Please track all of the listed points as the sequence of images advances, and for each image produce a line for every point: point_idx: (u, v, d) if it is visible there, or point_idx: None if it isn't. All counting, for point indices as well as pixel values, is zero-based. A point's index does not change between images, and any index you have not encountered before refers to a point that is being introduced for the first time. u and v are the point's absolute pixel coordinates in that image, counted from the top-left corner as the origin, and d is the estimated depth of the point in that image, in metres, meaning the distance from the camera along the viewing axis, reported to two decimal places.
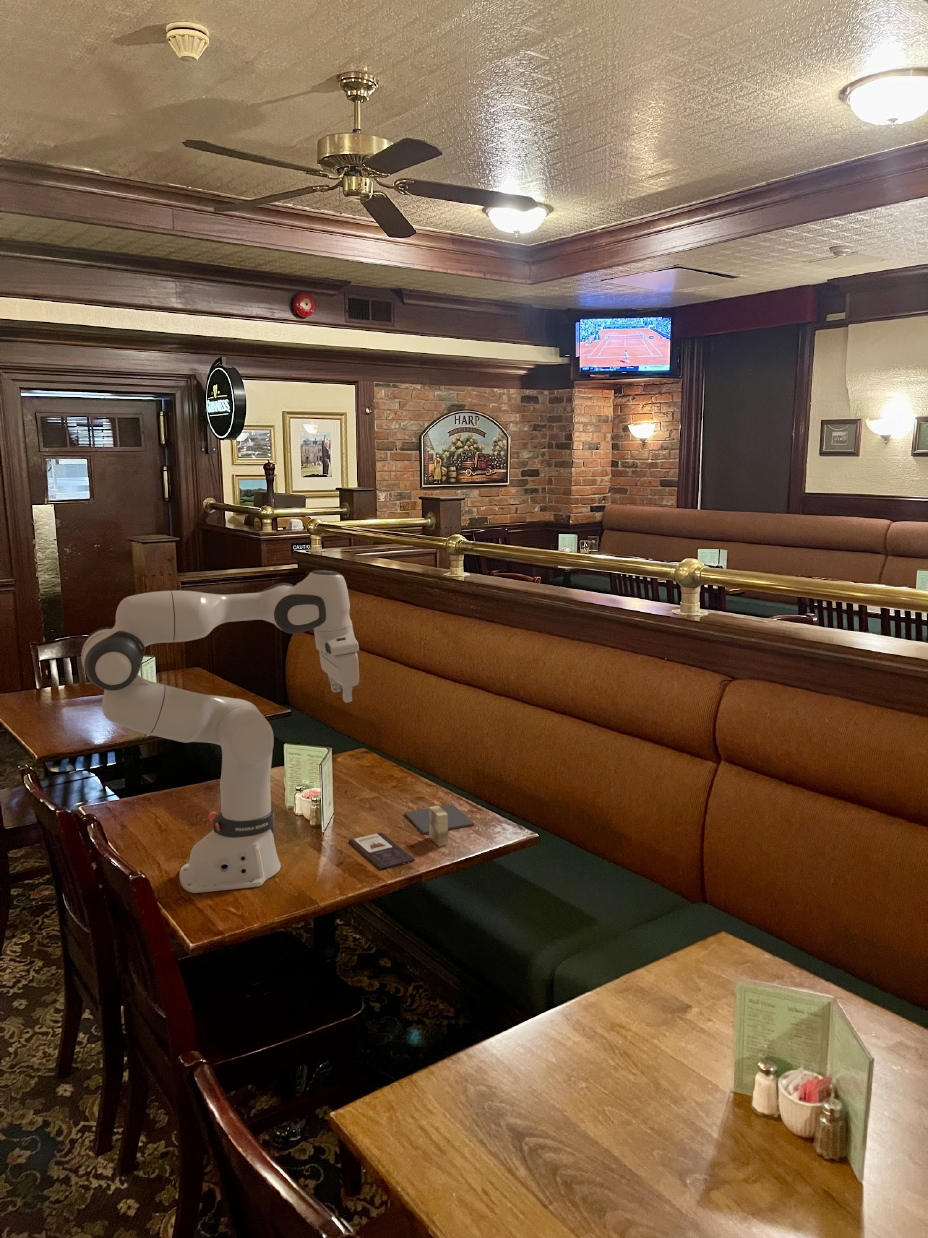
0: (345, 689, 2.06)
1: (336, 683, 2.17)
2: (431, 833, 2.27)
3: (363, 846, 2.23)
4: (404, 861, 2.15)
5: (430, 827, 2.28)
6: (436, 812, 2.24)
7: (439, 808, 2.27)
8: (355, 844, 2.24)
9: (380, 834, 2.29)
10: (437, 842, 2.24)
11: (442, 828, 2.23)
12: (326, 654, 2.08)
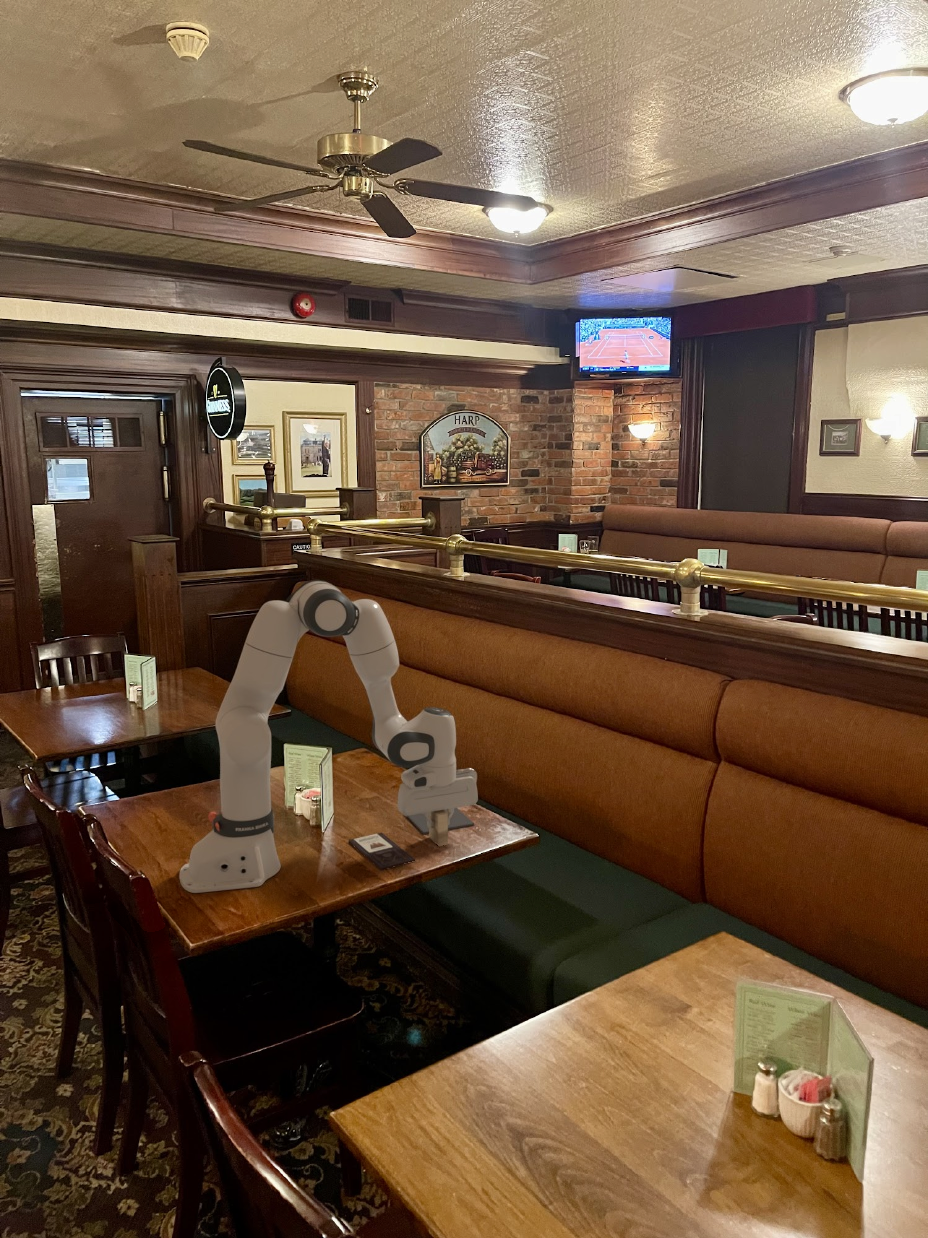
0: (423, 814, 2.25)
1: None
2: (431, 833, 2.27)
3: (363, 846, 2.22)
4: (404, 861, 2.15)
5: None
6: (436, 812, 2.24)
7: None
8: (355, 844, 2.24)
9: (380, 834, 2.29)
10: (437, 842, 2.24)
11: (442, 827, 2.23)
12: None
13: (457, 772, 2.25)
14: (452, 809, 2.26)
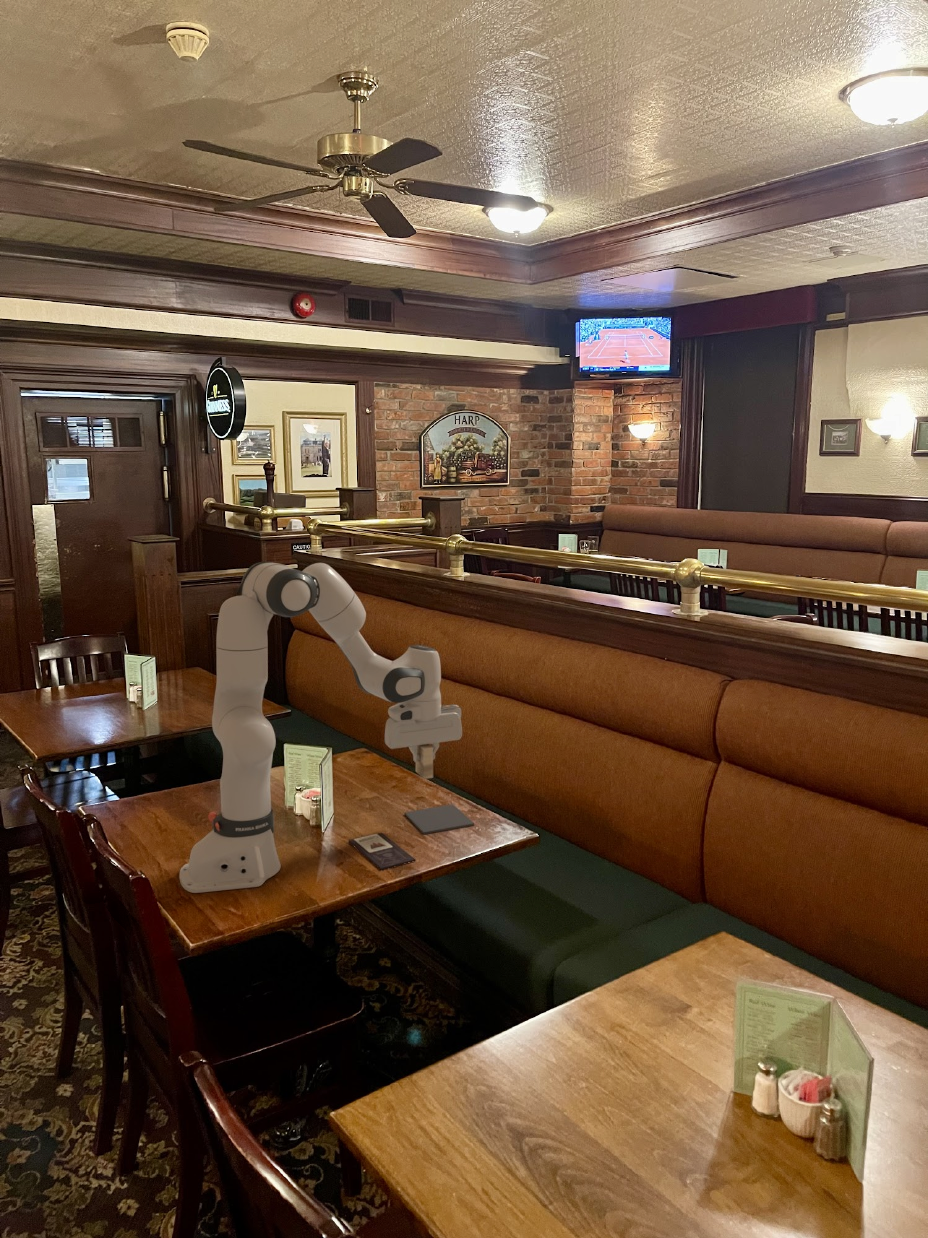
0: (409, 748, 2.33)
1: None
2: (417, 767, 2.36)
3: (363, 846, 2.22)
4: (405, 861, 2.15)
5: None
6: (422, 746, 2.33)
7: None
8: (355, 844, 2.23)
9: (380, 834, 2.29)
10: (423, 775, 2.33)
11: (427, 760, 2.32)
12: None
13: (442, 708, 2.34)
14: (437, 743, 2.34)
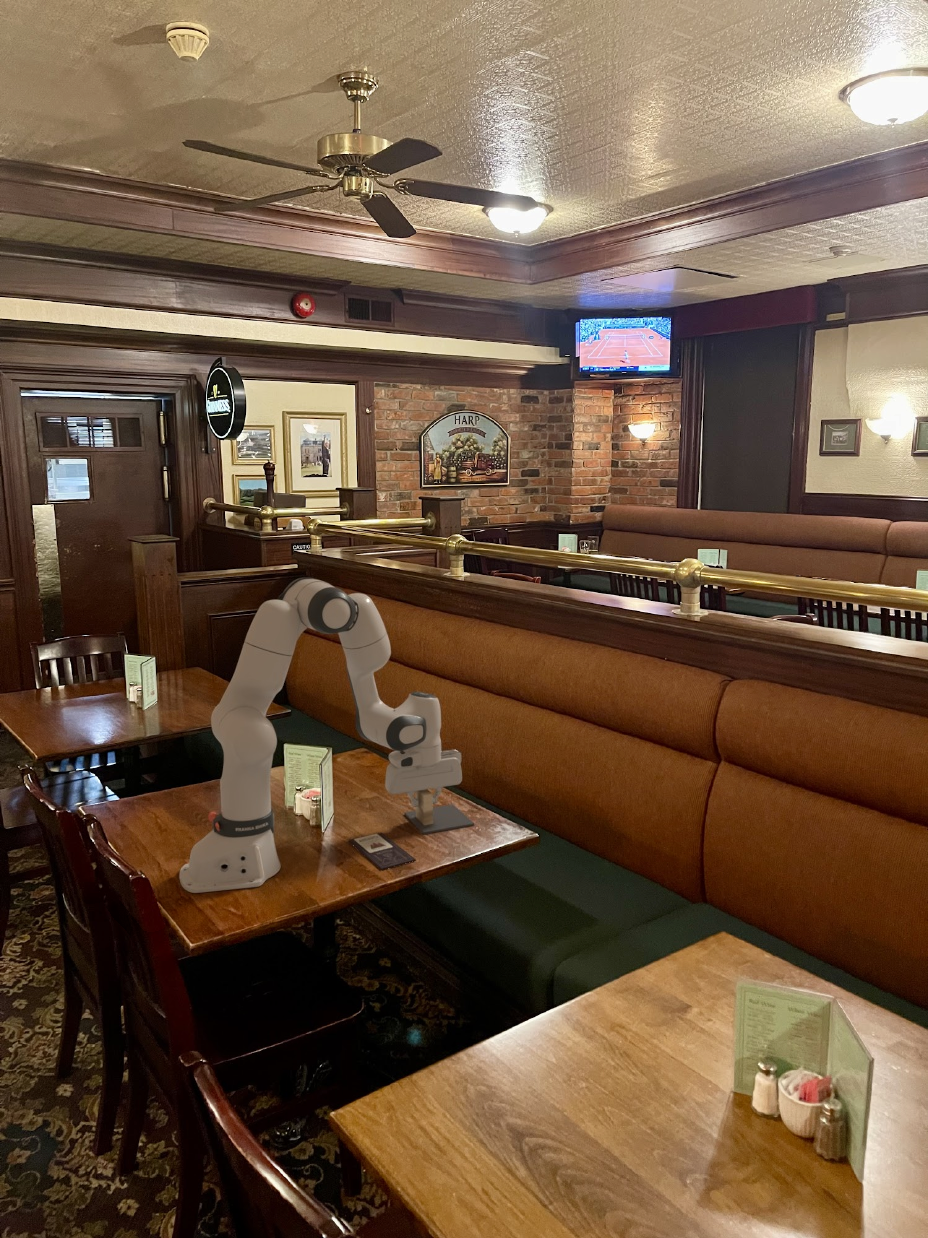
0: (407, 793, 2.35)
1: (434, 796, 2.38)
2: (417, 812, 2.38)
3: (363, 846, 2.22)
4: (405, 861, 2.15)
5: (416, 807, 2.39)
6: (422, 792, 2.35)
7: None
8: (355, 844, 2.23)
9: (380, 834, 2.29)
10: (423, 821, 2.35)
11: (427, 807, 2.34)
12: None
13: (442, 753, 2.36)
14: (440, 788, 2.37)
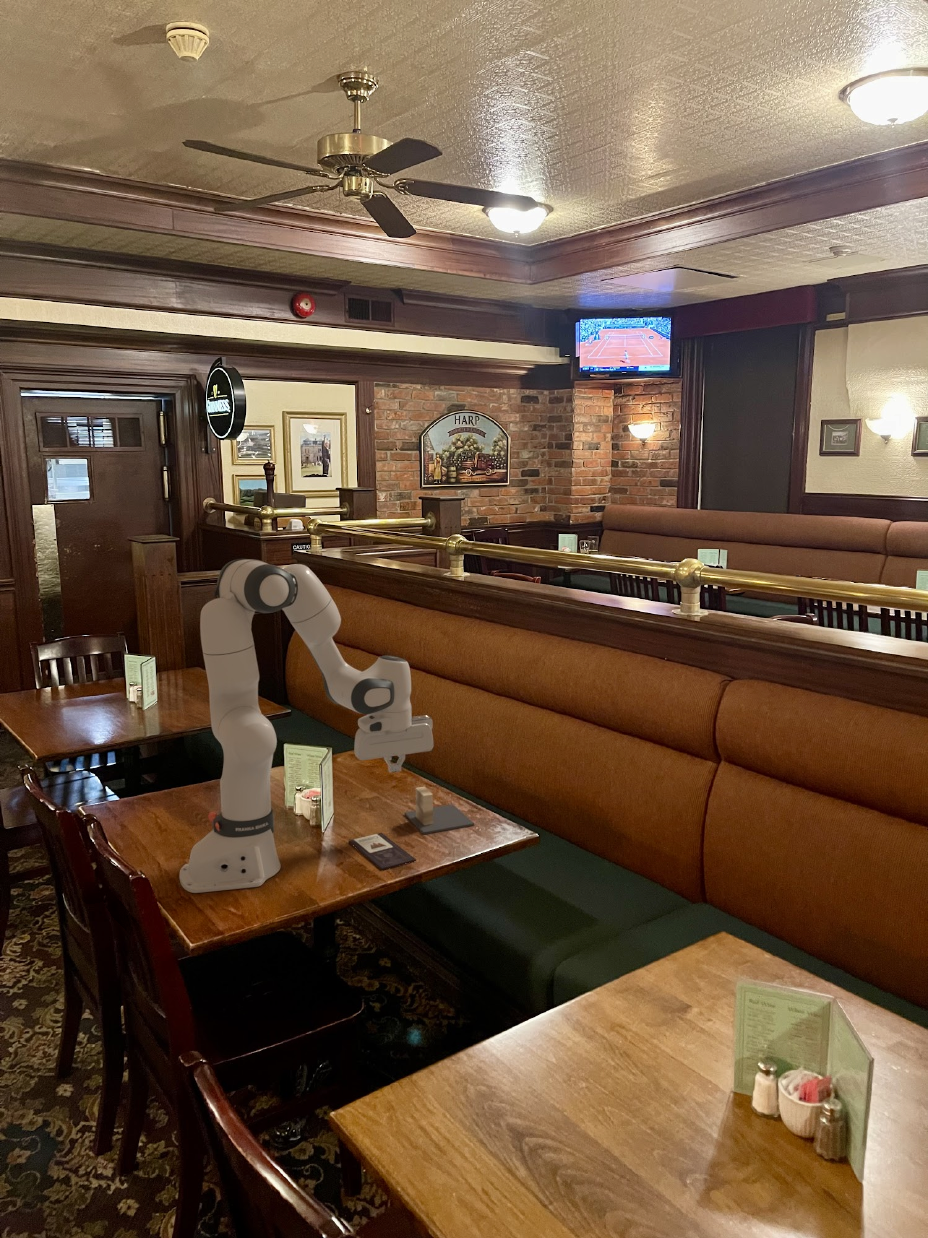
0: (384, 759, 2.31)
1: (397, 764, 2.32)
2: (417, 812, 2.38)
3: (364, 846, 2.22)
4: (405, 861, 2.15)
5: (416, 807, 2.39)
6: (422, 792, 2.35)
7: (425, 789, 2.38)
8: (355, 844, 2.23)
9: (380, 835, 2.29)
10: (423, 821, 2.35)
11: (427, 807, 2.34)
12: None
13: (413, 719, 2.31)
14: (403, 755, 2.31)
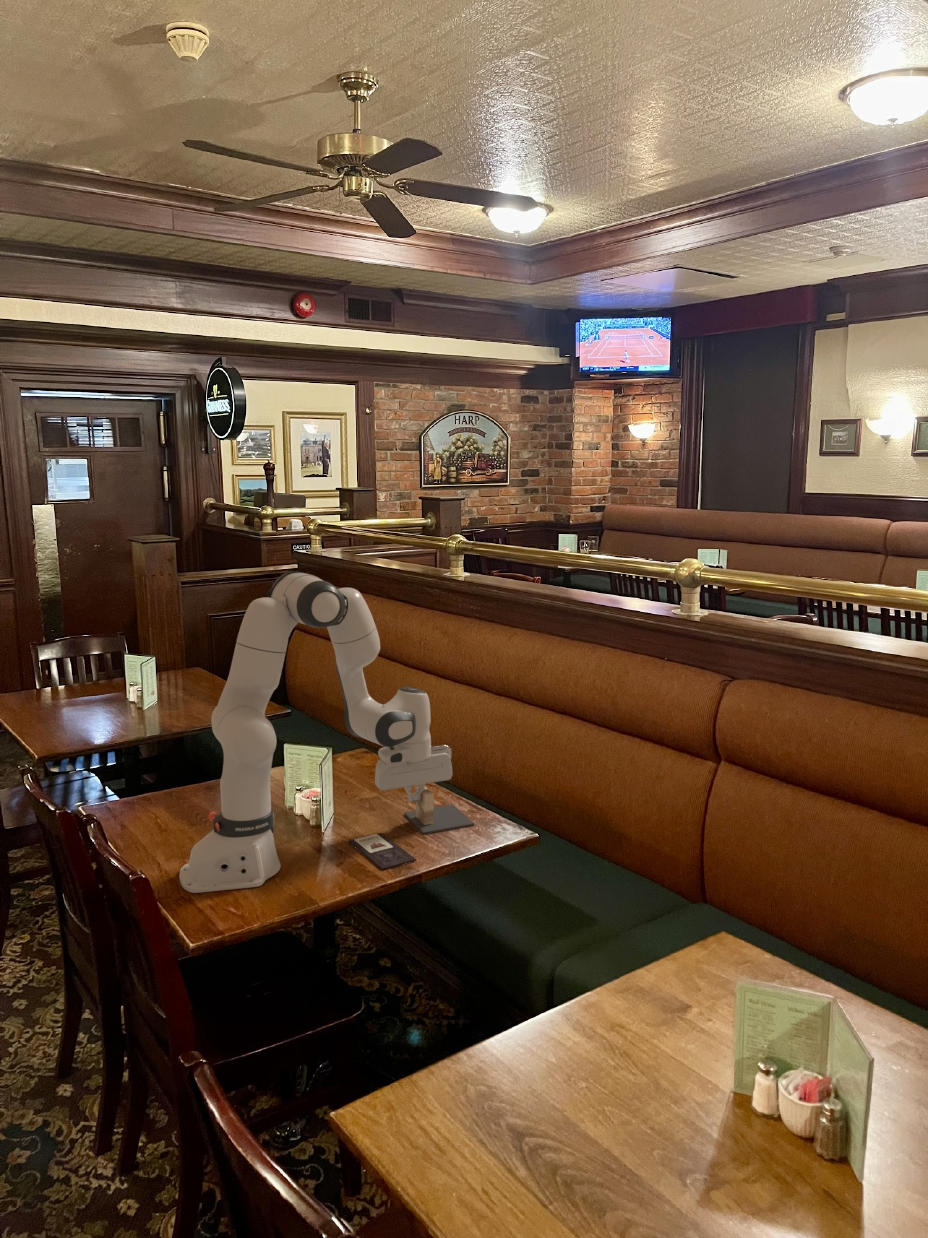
0: None
1: (417, 793, 2.35)
2: (417, 812, 2.38)
3: (364, 846, 2.22)
4: (406, 861, 2.15)
5: (416, 806, 2.39)
6: (423, 792, 2.35)
7: (426, 789, 2.38)
8: (355, 844, 2.23)
9: (380, 835, 2.29)
10: (423, 821, 2.35)
11: (428, 807, 2.34)
12: None
13: (432, 749, 2.35)
14: (423, 785, 2.35)
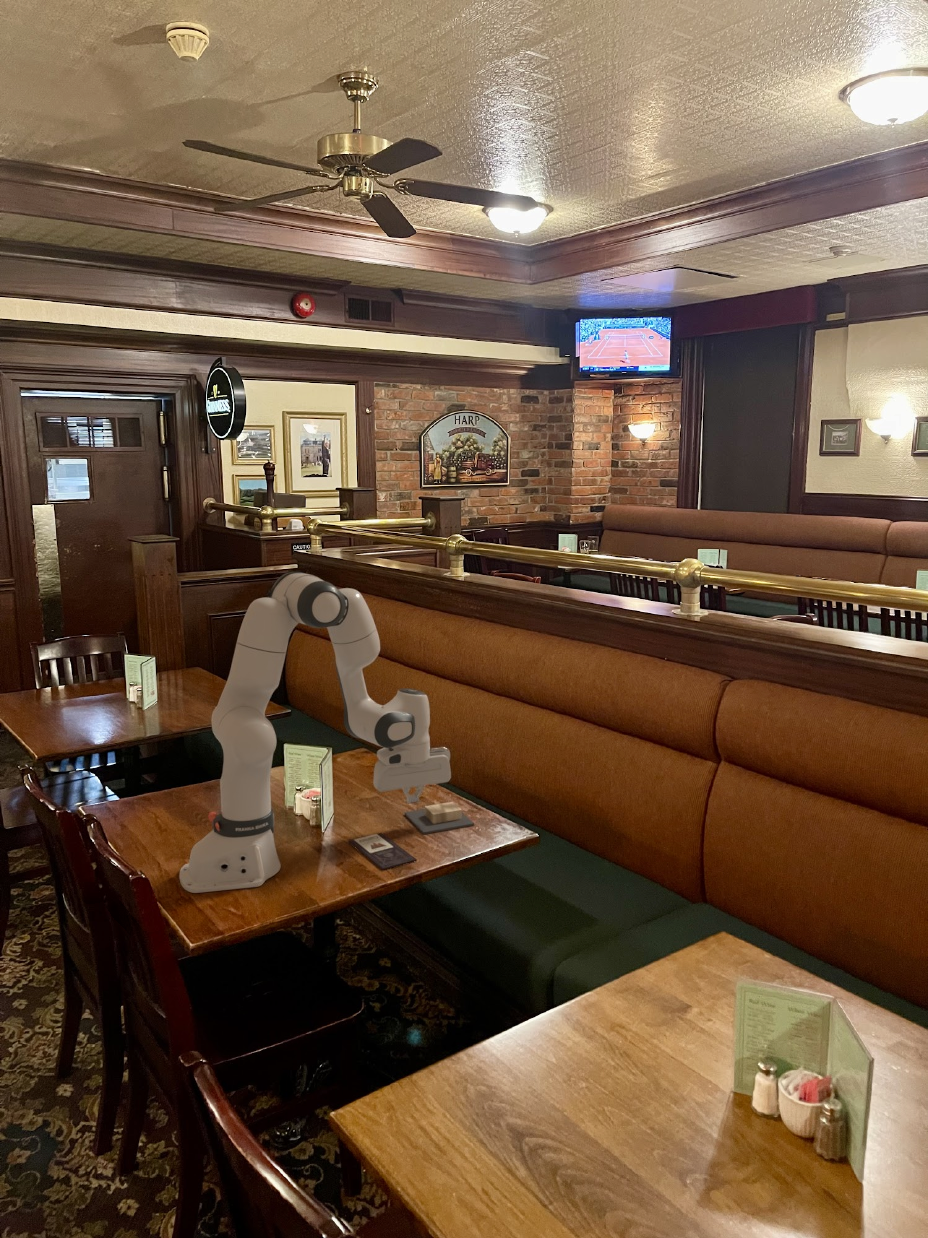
0: None
1: (416, 795, 2.35)
2: (432, 807, 2.40)
3: (364, 846, 2.22)
4: (406, 861, 2.15)
5: (436, 805, 2.41)
6: None
7: None
8: (356, 845, 2.23)
9: (379, 835, 2.29)
10: (435, 813, 2.36)
11: (450, 815, 2.37)
12: None
13: (431, 750, 2.35)
14: (421, 787, 2.35)
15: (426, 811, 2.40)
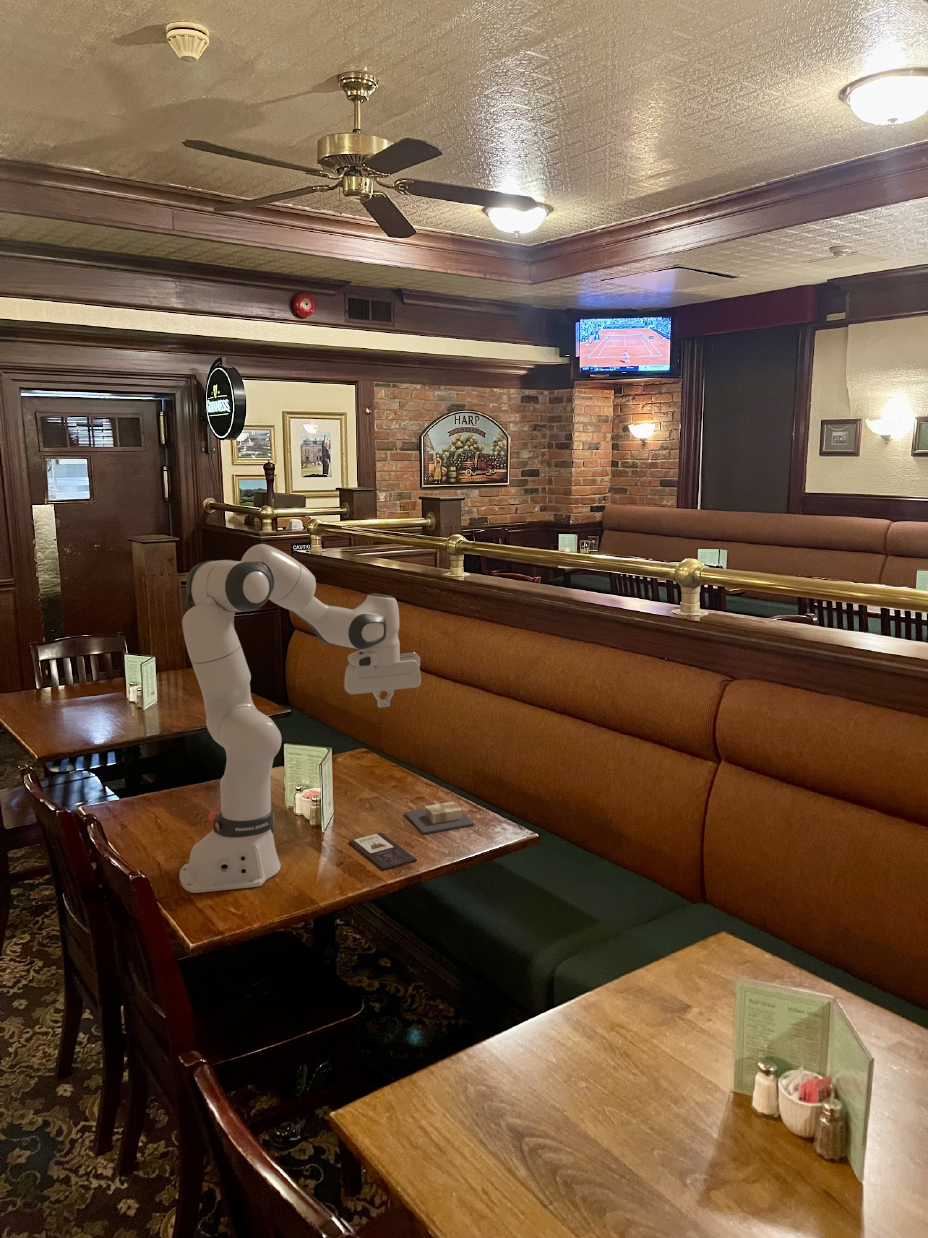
0: (373, 694, 2.39)
1: (386, 699, 2.39)
2: (432, 807, 2.40)
3: (364, 847, 2.22)
4: (406, 861, 2.15)
5: (436, 805, 2.41)
6: None
7: None
8: (356, 845, 2.23)
9: (379, 835, 2.29)
10: (435, 813, 2.36)
11: (450, 815, 2.37)
12: None
13: (401, 655, 2.39)
14: (392, 691, 2.39)
15: (426, 811, 2.40)
